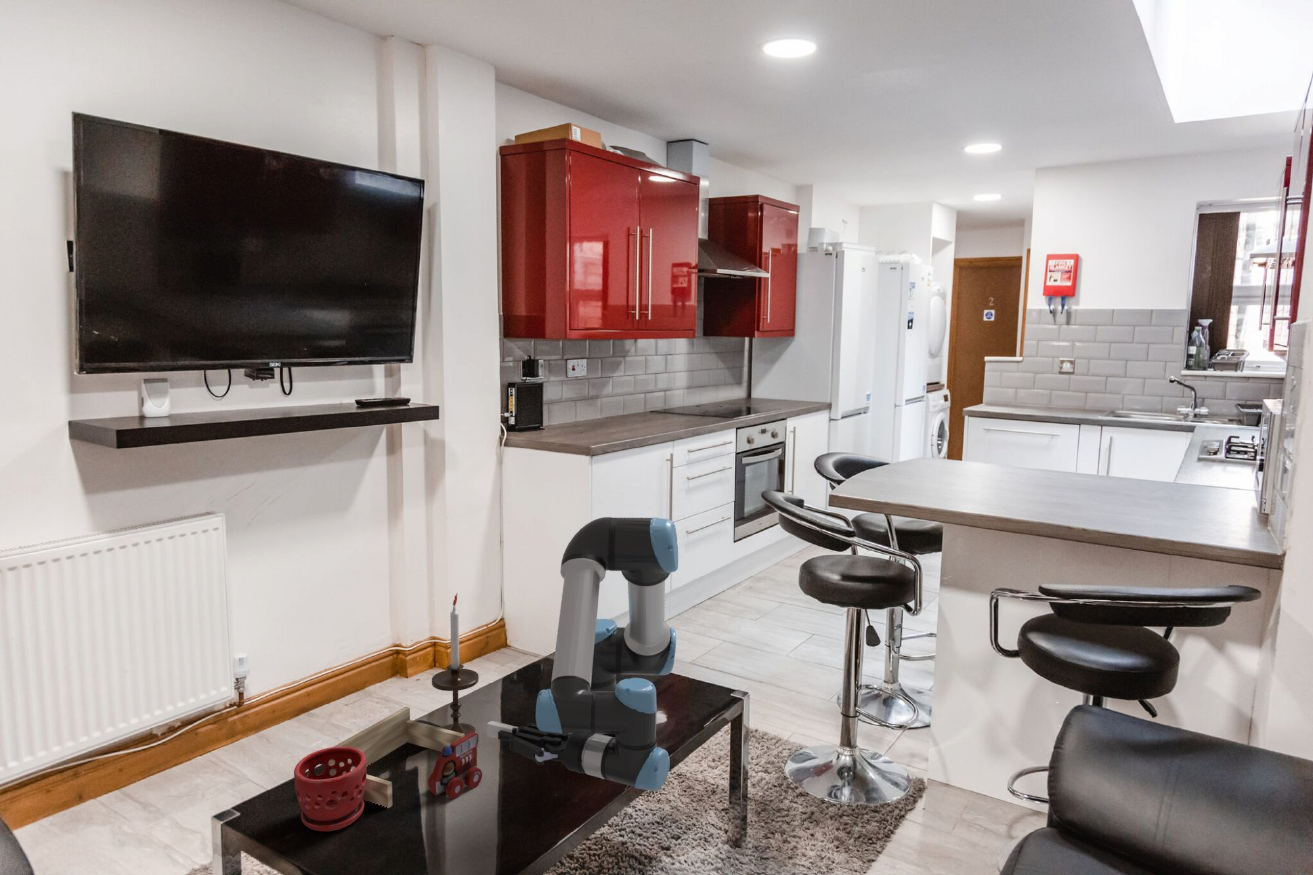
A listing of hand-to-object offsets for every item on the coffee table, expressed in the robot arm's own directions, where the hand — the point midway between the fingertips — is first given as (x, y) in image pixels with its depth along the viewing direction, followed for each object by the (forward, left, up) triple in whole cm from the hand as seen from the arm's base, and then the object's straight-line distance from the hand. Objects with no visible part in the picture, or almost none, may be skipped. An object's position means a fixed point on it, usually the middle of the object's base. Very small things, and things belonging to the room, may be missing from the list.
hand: (489, 728), depth 166 cm
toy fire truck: (+10, -1, -16) cm, 19 cm away
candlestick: (+25, -20, -16) cm, 36 cm away
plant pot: (+24, +19, -16) cm, 34 cm away
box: (+26, -1, -16) cm, 30 cm away
